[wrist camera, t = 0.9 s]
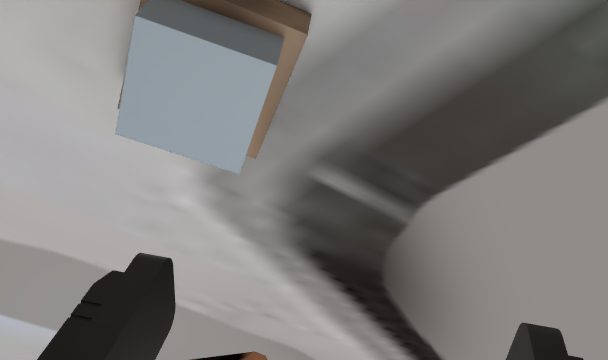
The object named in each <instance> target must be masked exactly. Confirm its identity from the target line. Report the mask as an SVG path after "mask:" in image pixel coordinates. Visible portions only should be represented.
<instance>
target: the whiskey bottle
mask: <svg viewBox="0 0 608 360" xmlns="http://www.w3.org/2000/svg"><path fill="white" fill-rule="evenodd" d="M192 360H267V358H266V356H264V355H262V354H259V353H257V352H248V353H241V354H232V355H224V356H216V357H208V358H200V359H192Z"/></svg>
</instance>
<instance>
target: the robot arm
mask: <svg viewBox="0 0 608 360" xmlns="http://www.w3.org/2000/svg"><path fill="white" fill-rule="evenodd" d="M174 314H175V290H174V273H173V262H172V259H171V258H167V257H161V256H155V255H150V254H144V253H139V254H137V255H136V256H135V258H134V259H133V260H132V262H131V263H130V265H129V266H128V268H127V269H126V271H125V272H119V271H111V272H110V273H108V274H107V275H105V276H104V277H103V278H101V279H100V280H98V281H97V282H96V283H94V284H93V285H92V286H91V288H90V289H89V291H88V292H87V293H86V295H85V296H84V297H83V299H82V300H81V303H80V304H78V305H77V307H76V308H75V309H74V311H73V312H72V313H71V317H70V318H68V319H67V320H66V321H65V323H64V324H63V326H62V327H61V328H60V329H59V331H58V332H57V334H56V335H55V336H54V338H53V339H52V340H51V342H50V343H49V344H48V346H47V347H46V348H45V350H44V351H43V352H42V354H41V355H40V356H39V358H38V359H37V360H155V359H156V357H157V355H158V353H159V351H160V349H161V347H162V345H163V343H164V341H165V339H166V337H167V335H168V333H169V331H170V329H171V326H172V323H173V319H174ZM506 360H583V358H579V357H574V356H568V354H567V350H566V347H565V344H564V340H563V337H562V334H561V332H560V330H558V329H555V328H550V327H545V326H538V325H533V324H527V323H522V324H520V326H519V328H518V330H517V333H516V335H515V338H514V340H513V343H512V345H511V348H510V350H509V353H508V355H507V358H506Z"/></svg>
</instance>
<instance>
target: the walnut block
mask: <svg viewBox="0 0 608 360" xmlns="http://www.w3.org/2000/svg"><path fill="white" fill-rule="evenodd" d="M182 1H184V2H187V3H190V4H193V5H195V6H198V7H201V8H204V9H206V10H209V11H212V12H215V13H217V14H220V15H223V16H226V17H229V18H231V19H234V20H237V21H240V22H242V23H245V24H248V25H251V26H253V27H256V28H259V29H262V30H264V31H267V32H270V33H273V34H275V35H278V36H281V37H284V41H283V45H282V49H281V53H280V56H279V60H278V64H277V67H276V70H275V73H274V76H273V79H272V82H271V84H270V87H269V90H268V93H267V96H266V99H265V102H264V105H263V107H262V110H261V113H260V116H259V119H258V122H257V125H256V128H255V130H254V133H253V136H252V139H251V142H250V145H249V148H248V151H247V153H246V155H247V156H249V157H252V158H255V159H256V157H257V154H258V152H259V150H260V147H261V145H262V142H263V140H264V138H265V135H266V133H267V131H268V128H269V126H270V123H271V121H272V119H273V116H274V114H275V111H276V109H277V107H278V104H279V102H280V99H281V97H282V95H283V92H284V90H285V87H286V85H287V83H288V80H289V78H290V75H291V73H292V71H293V68H294V66H295V63H296V61H297V59H298V56H299V54H300V51H301V49H302V47H303V44H304V42H305V40H306V37H307V35H308V30H309V24H310V19H311V14H309V13H307V12H305V11H302V10H300V9H297V8H295V7H293V6H290V5H288V4H285V3H283V2H281V1H278V0H182ZM147 2H148V0H141V2H140V6H139V10H140V9H141V8H142V7H143V6H144V5H145V4H146V3H147ZM138 12H139V11H138ZM125 73H126V72H125ZM124 79H125V76H124ZM123 85H124V81H123ZM122 91H123V86H122V90H121V95H120V100H119V104H118V109H120V103H121V97H122Z"/></svg>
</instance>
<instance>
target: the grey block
mask: <svg viewBox="0 0 608 360" xmlns="http://www.w3.org/2000/svg"><path fill="white" fill-rule="evenodd" d="M283 41H284V37H281V36H278V35H275V34H273V33H270V32H267V31H264V30H262V29H259V28H256V27H253V26H251V25H248V24H245V23H242V22H240V21H237V20H234V19H231V18H229V17H226V16H223V15H220V14H217V13H215V12H212V11H209V10H206V9H204V8H201V7H198V6H195V5H193V4H190V3H187V2H184V1H182V0H148V2H147V3H146V4H145V5H144V6H143V7H142V8H141V9H140V10H139V12H138V13H137V14H136V15H135V18H134V24H133V30H132V36H131V42H130V48H129V54H128V61H127V67H126V73H125V79H124V85H123V91H122V97H121V103H120V109H119V115H118V121H117V127H116V133H115V134H116V135H119V136H123V137H126V138H129V139H132V140H135V141H138V142H141V143H144V144H147V145H150V146H154V147H157V148H160V149H163V150H166V151H169V152H172V153H175V154H178V155H182V156H185V157H188V158H191V159H194V160H197V161H200V162H203V163H206V164H209V165H213V166H216V167H219V168H222V169H225V170H228V171H231V172H234V173H237V174H240V171H241V168H242V165H243V162H244V159H245V156H246V153H247V151H248V148H249V145H250V142H251V139H252V136H253V133H254V130H255V128H256V125H257V122H258V119H259V116H260V113H261V110H262V107H263V105H264V102H265V99H266V96H267V93H268V90H269V87H270V84H271V82H272V79H273V76H274V73H275V70H276V67H277V64H278V60H279V56H280V53H281V49H282V45H283Z"/></svg>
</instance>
